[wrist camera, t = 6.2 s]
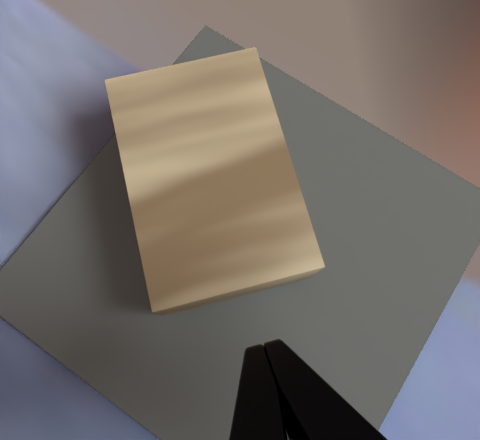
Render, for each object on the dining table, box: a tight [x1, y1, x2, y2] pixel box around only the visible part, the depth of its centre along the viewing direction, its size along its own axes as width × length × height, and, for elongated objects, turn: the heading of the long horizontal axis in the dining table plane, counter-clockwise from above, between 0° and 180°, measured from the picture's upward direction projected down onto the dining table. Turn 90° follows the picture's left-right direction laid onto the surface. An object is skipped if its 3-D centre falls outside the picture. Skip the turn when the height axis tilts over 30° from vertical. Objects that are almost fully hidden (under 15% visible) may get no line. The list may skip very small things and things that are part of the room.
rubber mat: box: [0, 26, 480, 440], centre depth 18 cm, size 16×16×1 cm
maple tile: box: [105, 47, 325, 316], centre depth 17 cm, size 3×6×9 cm
